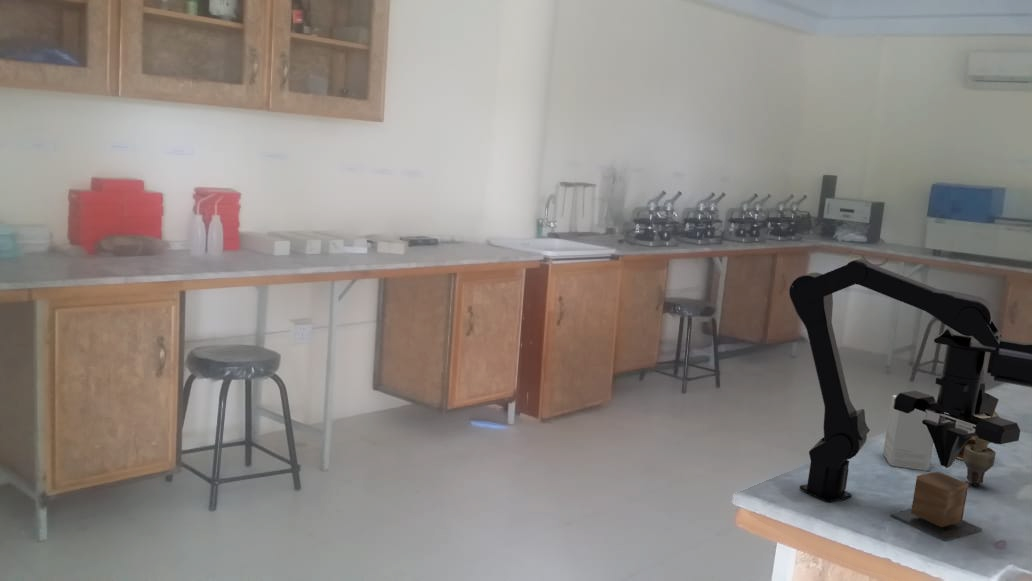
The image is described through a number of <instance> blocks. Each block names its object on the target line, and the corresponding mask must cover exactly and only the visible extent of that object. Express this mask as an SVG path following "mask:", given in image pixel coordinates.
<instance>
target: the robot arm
mask: <svg viewBox="0 0 1032 581" xmlns="http://www.w3.org/2000/svg"><path fill="white" fill-rule="evenodd" d="M855 285H859V286H861V287H863V288H867V289H869V290H872V291H874V292H877V293H879V294H881V295H885V296H886V297H888V298H889V297H890V298H891V299H893V300H897V301H899V302H902V303H904V304H907V305H909V306H911V307H914V308H916V309H919V310H921V311H924V312H926V313H928V315H931V316H932V317H934V318H935V319H936V320H938V321H939V322H941V324H943V325H944V326H946V327H948V328H946V329H945V330H944V331H943V332H942V333H940V334H938V335H937V336H936V337H934V339H933V343H935V344H940V345H946V346H945V351H944V352H945V353H944V359H943V366H942V370H941V376H938V377H936V379H935V385H939V388H938V394H937V400H935V397H934V396H933V395H930V394H927V393H924V392H920V391H917V390H912V391H903V392H898V394H897V395H896V397H895V399H894V405H893V408H894V409H896V410H899V411H901V412H904V413H907V414H908V413H911V412H912V411H914V410H915V409H918V410H920V411H923V412H926V418H925V420H922V424H924V425H926V426H927V428H928V431H929V433H930V435H931V438H932V440H933V442H934V443H933V446H934V448H935V450H936V451H935V452H936V454H937V457H938V461H939V464H940V466H941V467H945V468H946V469H947V468H951V466H952V465H953V464H954V462H955V460H956V459H957V458H956V457H957V455H958V454H959V452H960V451H961V449H962V448H963V446H964V445H965V444H966V442H967V441H968V440H969V439H970V438H971V437H973V436H978V438H980V439H983V440H986V441H989V442H991V443H990V444H995V445H1004V444H1008V443H1009V444H1010V443H1014V442H1019V440H1020V436H1021V435H1020V434H1021V430H1020V427H1019V424H1018V422H1014V421H1011V420H1008V419H1005V418H1003V417H1000V416H999V417H996V416H995V417H992V416H993V414H994V411H995V412H996V408H997V405H998V403H999V398H997V397H995V396H994V395H991V394H989V393H987V392H986V383H985V382H983V381H982V375H983V370H984V365H985V360H986V355H987V353H990V354H989V359H988V365H987V374H990V376H991V377H993V381H995V382H1000V383H1005V384H1011V385H1015V386H1021V387H1027V388H1031V389H1032V342H1021V341H1014V340H1009V339H1003V335H1002V334H1001V331H999V329H998V327H997V326H996V324H995V322H994V321H993V317H994V310H993V307H992V305H991V304H990V302H989V301H988V300H987V299H985V298H984V297H981V296H978V295H975V294H974V295H973V294H970V293H969V294H968V293H964V292H959V291H958V292H957V291H952V290H945V289H941V288H936V287H933V286H930V285H929V284H925V283H923V282H920V281H917V280H915V279H912V278H910V277H907V276H905V275H902V274H899V273H896V272H895V271H892V270H889V269H886V268H883V267H880V266H878V265H875V264H873V263H871V262H870V261H868V260H866V259H863V258H857V259H854V260H851V261H850V262H848V263H847V264H845V265H843V266H841V267H840V266H839V267H838V268H835V269H833V270H830V271H828V272H825V273H820V272H817V271H816V272H810V273H807V274H804V275H802V276H799V277H796V279H795V280H793V282H791V285H790V286H789V290H788V291H789V294H788V295H789V298H790V301H791V302H792V305H793V308H794V309H795V312H796V315H797V316H798V317H799V319H800V321H801V322H802V323H803V324H802V325H803V326H804V327H805V329H806V332H807V336H808V341H809V345H810V350H811V354H812V358H813V362H814V365H815V366H814V367H815V371H816V375H817V380H818V383H819V387H820V391H821V396H822V401H823V405H824V413H823V414H824V416H823V437H821V438H820V439H819V440H818V442H816V444H814V446H813V447H812V448H811V449H810V450H809V452H808V454H809V457H810V464H809V472H808V478H807V483H806V484H801V485H799V490H801V491H804V492H806V494H807V493H808V494H809V495H812V496H814V497H815V498H818V499H820V500H822V501H825V502H826V503H827V502H828V503H831V502H836V501H841V500H844V499H850V498H852V496H853V494H852V493H850V492H847V491H845V490H846V489H847V487H846V486H847V483H848V482H847V481H848V475H849V469H850V468H849V464H850V459H853V458H854V457H856V456H857V454H858V453H859V451H860V450H861V449H862V448H863V447H864V445H865V444H866V442H867V435H868V434H869V432H870V431H871V430H870V428H869V427H868V426H867V422H866V412H865V409H863V408H861V409H858V410H856V408H855V407H854V405H853V403H852V401H851V399H850V395H849V392H848V391H849V390H848V387H847V383H846V379H845V374H844V371H843V365H842V360H841V357H840V353H839V349H838V348H839V347H838V343H837V340H836V336H835V332H834V328H833V323H832V322H833V319H832V318H833V305H834V303H833V302H834V299H833V293H834V294H835V293H837V292H839V291H842V290H844V289H847V288H849V287H852V286H855ZM952 330H954V331H955V332H957V333H959V334H955V333H953V331H952ZM960 334H961V335H960ZM973 338H974V339H975V340H976V341H977V342H978V343H977V342H974V341H973ZM949 414H950V415H949ZM975 414H978V415H982V414H985V415H986V416H990V418H984V419H982V418H979V417H976V416H975ZM958 417H961V418H965V420H964V419H961V418H958Z"/></svg>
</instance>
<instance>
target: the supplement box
mask: <svg viewBox="0 0 1032 581" xmlns="http://www.w3.org/2000/svg"><path fill="white" fill-rule="evenodd" d="M896 396H897V395H895V394H892V397H891V401H890V405H889V407H890V408H889V413H888V419H887V426H886V431H885V432H886V433H885V437H884V438H885V439H884V440H885V441H884V445H883V451H882V455H884V457H885V460H886V461H887V462H888V464H889V465H890V466H892V467H897V468H905V469H911V470H918V471H927V472H928V471H929V470H930V465H931V460H932V454H933V447H934V442H933V440H932V438H931V435H930V433H929V431H928V428H927V426H926V425H924V424H922V420H925V418H926V412H923V411H920V410H918V409H915V410H914V411H912V412H911V413H908V414H907V413H904V412H901V411H899V410H896V409H894V408H893V405H894V399H895V397H896Z"/></svg>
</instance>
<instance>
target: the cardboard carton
mask: <svg viewBox="0 0 1032 581" xmlns="http://www.w3.org/2000/svg"><path fill="white" fill-rule="evenodd" d="M969 484H970V483H968V482H966V481H963V480H960V479H958V478H956V477H952V476H951V475H948V474H944V473H942V472H940V471H934V472H929V473H924V474H920V475H916V481H915V486H914V492H913V498H912V504H911V508H910V509H911V514H914V515H916V516H918V517H920V518H923V519H925V520H927V521H929V522H931V523H934V524H936V525H938V526H940V527H944V526H947V525H951V524H955V523H958V522H962V520H963V519H964V518H963V517H964V512H965V507H966V506H965V505H966V501H967V496H968V491H969V490H968V489H969Z"/></svg>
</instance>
